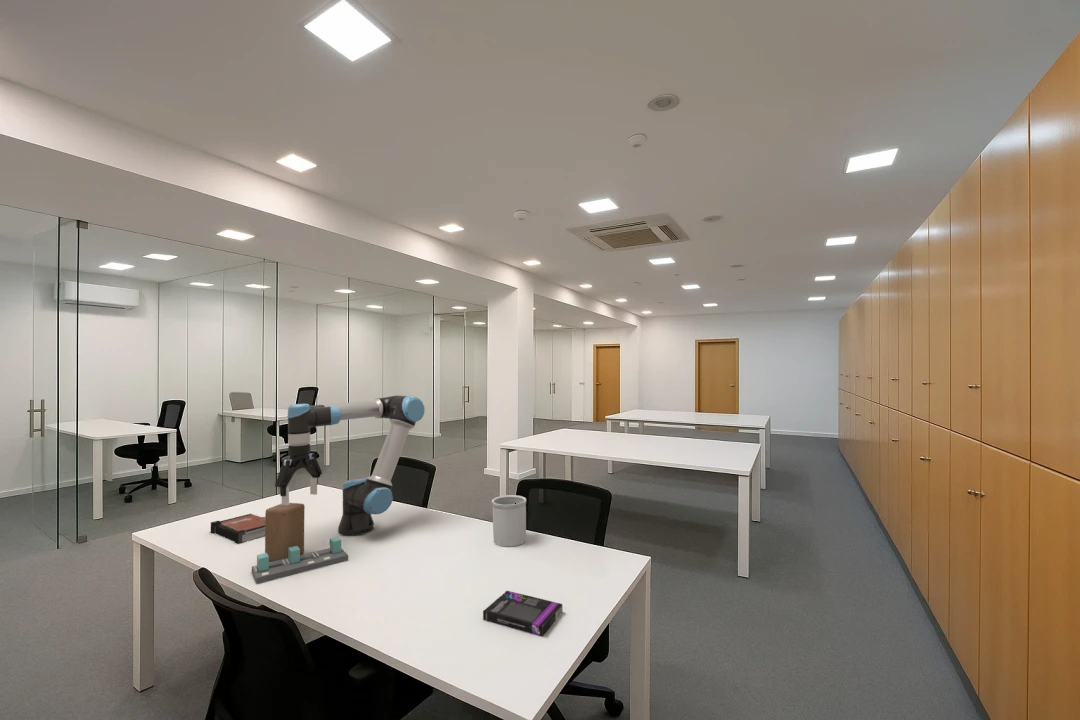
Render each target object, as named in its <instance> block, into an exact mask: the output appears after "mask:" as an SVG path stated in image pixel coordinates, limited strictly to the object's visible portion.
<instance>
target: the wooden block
mask: <svg viewBox="0 0 1080 720" xmlns="http://www.w3.org/2000/svg"><path fill="white" fill-rule="evenodd" d="M264 517H265V537H264V553H267V554H268V556H269V562H273V561H277V560H281V559H286V558H288V548H290V547H294V546H298V547H299V549H300V555H302V554H305V504H304V503H299V502H297V503H296V502H289V505H282V503H280V504H276V505H274V506H271V507H269V508H267V509H266V510H265V516H264Z"/></svg>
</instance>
